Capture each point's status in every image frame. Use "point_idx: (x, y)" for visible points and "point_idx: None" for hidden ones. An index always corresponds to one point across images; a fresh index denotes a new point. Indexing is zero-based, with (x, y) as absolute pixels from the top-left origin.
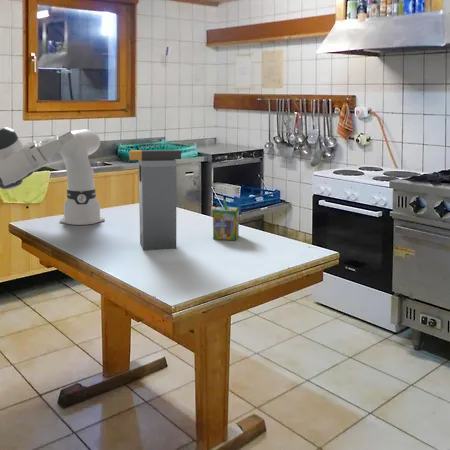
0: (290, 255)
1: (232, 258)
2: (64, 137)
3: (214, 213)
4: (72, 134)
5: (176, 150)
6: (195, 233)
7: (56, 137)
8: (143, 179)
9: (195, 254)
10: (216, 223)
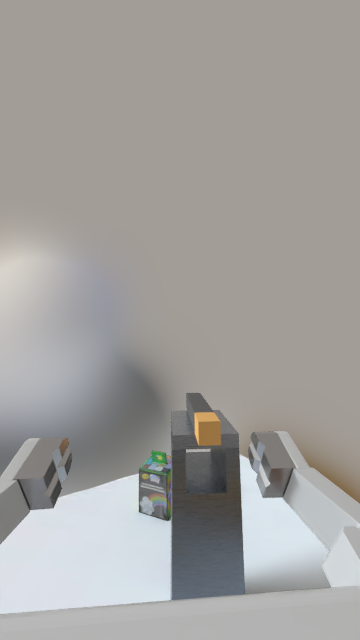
0: (240, 469)
1: (265, 515)
2: (344, 498)
3: (167, 477)
4: (70, 457)
5: (195, 394)
6: (121, 540)
7: (246, 630)
8: (239, 478)
9: (256, 559)
10: (169, 491)
